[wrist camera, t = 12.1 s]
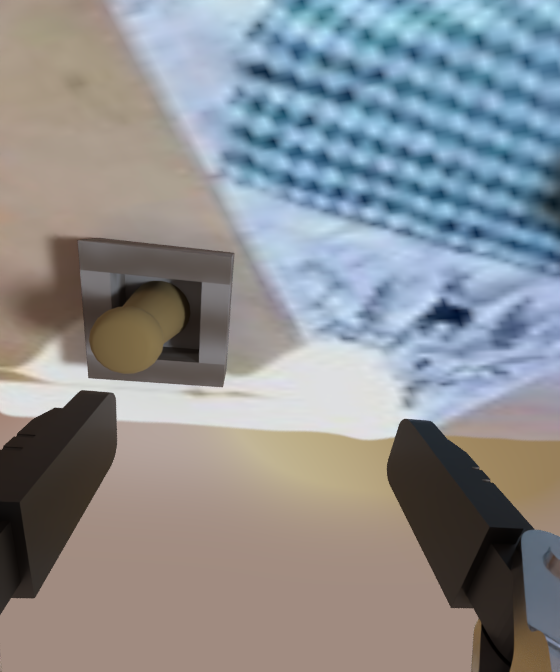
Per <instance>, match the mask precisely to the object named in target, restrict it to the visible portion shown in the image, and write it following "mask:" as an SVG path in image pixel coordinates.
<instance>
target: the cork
mask: <svg viewBox="0 0 560 672" xmlns="http://www.w3.org/2000/svg"><path fill="white" fill-rule="evenodd" d="M189 317H190V304H189V302H188V300H187V298H186V296H185V295H184V293H183V292H182V291H181V290H180V289H179V288H178V287H176V286H174V285H173V284H171V283H168V282H164V281H150V282H147V283H145V284H143V285H141V286H140V287H139V288H138V289H136V291H135V292H134V293H133V294H132V295H131V297H130V298H129V299H128V300H127V301H126V303H125V304H124V305H123V306H122V307H116V308H114V309H111V310H108V311H106V312H105V313H104V314H102V315H101V316H100V317H99V318H97V320H96V321H95V323H94V325H93V327H92V329H91V330H90V337H89V342H90V347H91V351H92V353H93V354H94V356H95V358H96V360H97V361H99V362H100V363H101V364H102V365H103V366H104V367H106V368H108V369H109V370H111V371H114V372H118V373H122V374H134V373H137V372H140V371H143V370H145V369H147V368H149V367H150V366H151V365H152V364H154V363H155V362H156V360H157V359H158V357H159V355H160V354H161V352H162V349H163V344H164V343H165V342H167V341H168V340H170V339H171V338H172V337H174V336H175V335H176V334H178V333H179V332H180V331H182V330H183V329H184V328H185V326H186V325H187V323H188V322H189Z"/></svg>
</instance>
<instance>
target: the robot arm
mask: <svg viewBox="0 0 560 672" xmlns="http://www.w3.org/2000/svg"><path fill="white" fill-rule="evenodd" d="M116 447H117V426H116V398H115V395H114V394H113V393H109V392H97V391H85V390H82V391H80V392H79V393H77V394H76V395H75V396H74V397H73V398H72V399H71V400H70V401H69V402H68V403H67V404H66V405H65V406H64V407H63V408H54V409H52V410H50V411H48V412H46V413H44V414H42V415H40V416H38V417H36V418H34V419H33V420H31V421H30V422H29V423H28V424H27V425H26V426H25V427H24V428H23V429H22V430H21V431H19V432H18V433H17V436H16V437H13V438H12V439H11V440H10V441H9V442H8V443H6V444H5V445H4V447H3V449H2V450H0V614H1V613H2V611H3V610H4V608H5V606H6V605H7V603H8V602H9V600H10V599H11V598H35V597H36V595H37V593H38V592H39V590H40V588H41V586H42V584H43V583H44V581H45V579H46V578H47V576H48V574H49V573H50V571H51V569H52V567H53V566H54V564H55V562H56V560H57V559H58V557H59V555H60V553H61V552H62V550H63V548H64V547H65V545H66V543H67V541H68V540H69V538H70V536H71V534H72V533H73V531H74V529H75V527H76V526H77V524H78V522H79V521H80V518H81V517H82V515H83V514H84V512H85V510H86V508H87V507H88V505H89V503H90V501H91V500H92V498H93V496H94V495H95V492H96V491H97V489H98V488H99V486H100V484H101V482H102V481H103V479H104V477H105V475H106V474H107V472H108V470H109V469H110V466H111V465H112V462H113V460H114V457H115V453H116ZM387 476H388V481H389V484H390V486H391V488H392V490H393V492H394V494H395V496H396V498H397V500H398V502H399V504H400V506H401V508H402V510H403V512H404V514H405V516H406V518H407V520H408V522H409V524H410V526H411V528H412V530H413V532H414V534H415V536H416V538H417V540H418V542H419V544H420V546H421V548H422V550H423V552H424V554H425V556H426V558H427V560H428V562H429V564H430V566H431V568H432V570H433V572H434V574H435V576H436V578H437V580H438V582H439V584H440V586H441V588H442V590H443V592H444V595H445V597H446V598H447V600H448V603H449V605H450V606H451V608H474V610H475V612H476V614H477V615H478V617H479V619H478V621H477V622H476V624H475V627H474V634H473V650H472V664H471V672H560V537H559V536H557V535H554V534H552V533H549V532H546V531H541V530H535V529H534V528H533V527H532V526H531V525H530V524H529V523H528V522H527V520H526V519H525V518H524V517H523V516H522V515H521V514H520V512H519V511H518V510H517V509H516V508H515V507H514V506H513V505H512V503H511V502H510V501H509V500H508V499H507V498H506V497H505V496H504V494H503V493H502V492H501V491H500V490H499V489H498V488H497V487H496V485H495V484H494V483H491V482H490V479H489V478H488V476H487V475H486V474H485V473H484V472H483V471H482V470H479V466H478V465H477V464H476V463H475V462H474V461H473V460H472V458H471V457H470V456H469V455H468V454H467V453H466V452H465V451H463V450H462V449H461V448H459V447H458V446H457V445H455V444H454V443H452V442H451V441H449V440H447V438H446V437H445V436H444V435H443V434H442V432H441V431H440V430H439V429H438V428H437V427H436V425H435V424H434V423H433V422H431V421H425V420H413V419H403V420H402V421H401V422H400V424H399V427H398V430H397V433H396V436H395V440H394V443H393V446H392V449H391V453H390V456H389V459H388V463H387ZM0 672H2V667H1V656H0Z"/></svg>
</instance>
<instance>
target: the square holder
mask: <svg viewBox="0 0 560 672" xmlns="http://www.w3.org/2000/svg"><path fill="white" fill-rule="evenodd" d="M78 252H79V264H80V277H81V290H82V302H83V315H84V328H85V340H86V353H87V366H88V378H95V379H110V380H124V381H139V382H154V383H168V384H183V385H198V386H213V387H223V385H224V379H225V374H226V367H227V352H228V337H229V323H230V308H231V293H232V279H233V264H234V253H230V252H221V251H212V250H203V249H194V248H185V247H176V246H166V245H157V244H148V243H139V242H130V241H121V240H112V239H103V238H94V239H85V240H78ZM150 281H164V282H168V283H171V284H173V285H174V286H176V287H178V288H179V289H180V290H181V291H182V292H183V293H184V295H185V296H186V298H187V300H188V302H189V304H190V317H189V322H188V323H187V325H186V326H185V328H184V329H183V330H182V331H180V332H179V333H178V334H176V335H175V336H174V337H172V338H171V339H170V340H168V341H167V342H165V343H164V344H163V349H162V352H161V354H160V355H159V357H158V359H157V360H156V362H155V363H154V364H152V365H151V366H150V367H149V368H147V369H145V370H143V371H140V372H137V373H134V374H122V373H118V372H114V371H111V370H109V369H108V368H106V367H104V366H103V365H102V364H101V363H100V362H99V361H97V360H96V358H95V356H94V354H93V353H92V351H91V347H90V342H89V337H90V330H91V329H92V327H93V325H94V323H95V321H96V320H97V318H99V317H100V316H101V315H102V314H104V313H105V312H106V311H108V310H111V309H114V308H116V307H122V306H123V305H124V304H125V303H126V301H127V300H128V299H129V298H130V297H131V295H132V294H133V293H134V292H135V291H136V289H138V288H139V287H140V286H141V285H143V284H145V283H147V282H150Z"/></svg>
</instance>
